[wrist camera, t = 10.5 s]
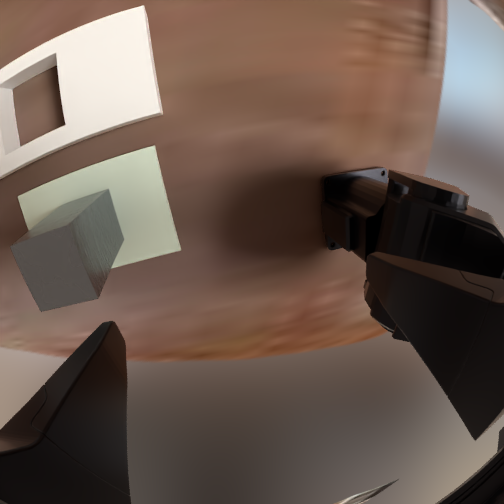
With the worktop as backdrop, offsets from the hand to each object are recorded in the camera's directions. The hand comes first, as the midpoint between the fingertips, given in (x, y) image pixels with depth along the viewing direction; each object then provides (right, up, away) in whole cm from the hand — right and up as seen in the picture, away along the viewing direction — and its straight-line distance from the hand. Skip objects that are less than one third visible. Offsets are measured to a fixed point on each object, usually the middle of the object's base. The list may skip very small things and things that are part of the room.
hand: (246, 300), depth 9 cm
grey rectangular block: (-12, +4, +9) cm, 15 cm away
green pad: (-12, +4, +10) cm, 16 cm away
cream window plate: (-14, +13, +5) cm, 20 cm away
